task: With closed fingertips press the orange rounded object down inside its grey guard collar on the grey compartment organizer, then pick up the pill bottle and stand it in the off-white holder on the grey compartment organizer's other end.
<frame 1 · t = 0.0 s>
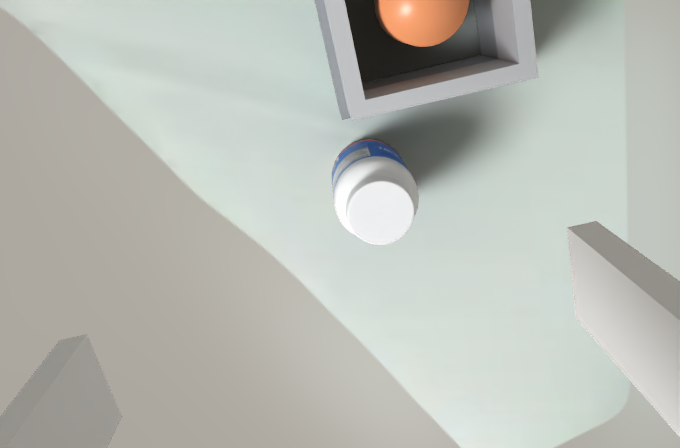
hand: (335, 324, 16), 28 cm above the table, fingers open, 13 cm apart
orange rounded object: (419, 1, 35), point 5 cm above the table, slide at 0.0 cm
pill bottle: (367, 172, 43), on the table
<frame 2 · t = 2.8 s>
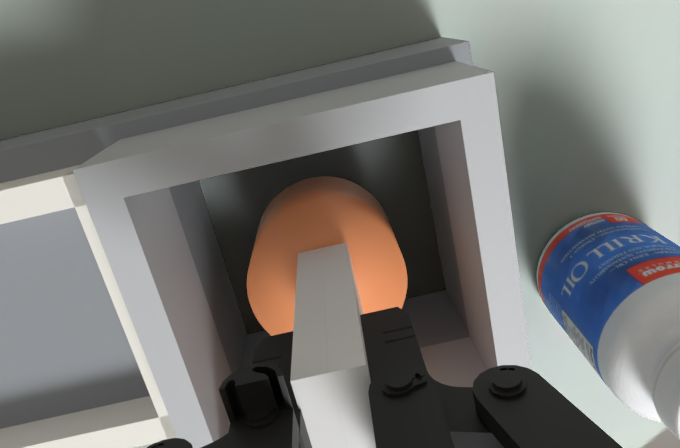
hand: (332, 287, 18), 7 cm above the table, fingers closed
grey compartment organizer: (206, 244, 24), on the table
orange rounded object: (325, 261, 20), point 5 cm above the table, slide at 0.6 cm, touching gripper
pill bottle: (590, 265, 26), on the table
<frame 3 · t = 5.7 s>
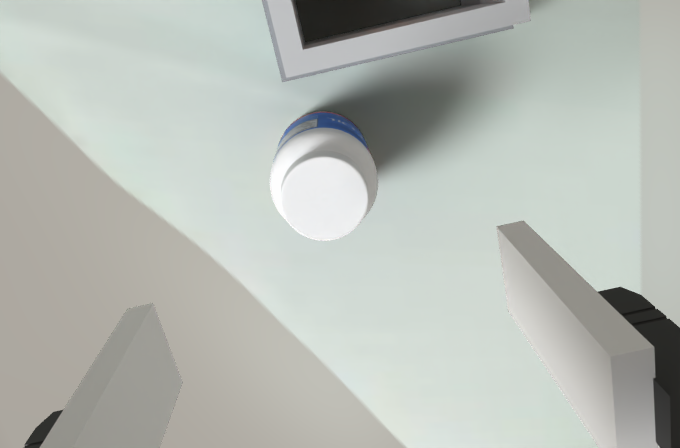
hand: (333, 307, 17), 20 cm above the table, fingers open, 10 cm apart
pill bottle: (322, 153, 35), on the table
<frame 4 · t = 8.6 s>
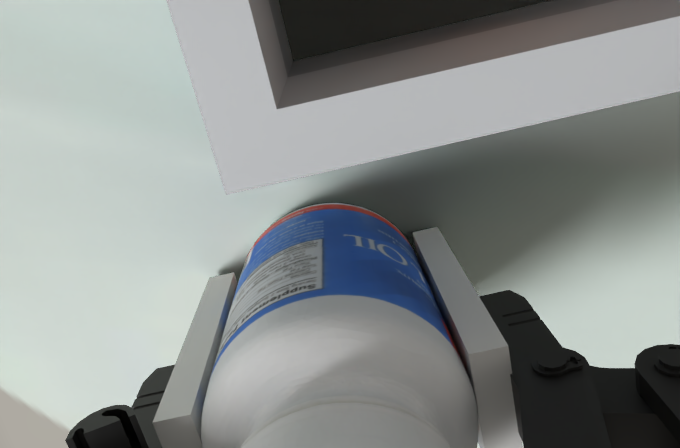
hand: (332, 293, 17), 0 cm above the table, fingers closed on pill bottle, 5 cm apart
pill bottle: (330, 278, 18), on the table, touching gripper
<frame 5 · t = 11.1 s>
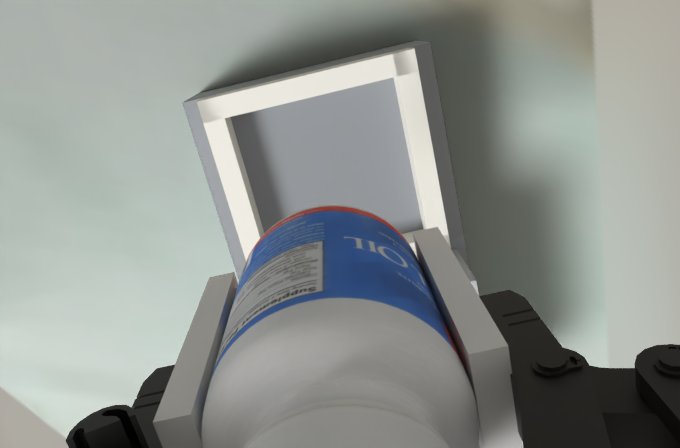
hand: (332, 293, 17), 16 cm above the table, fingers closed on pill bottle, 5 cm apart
grey compartment organizer: (352, 252, 35), on the table
pill bottle: (331, 279, 18), point 16 cm above the table, touching gripper
when the fingers open (6 cm above the table, at t = 13.6 s): pill bottle drops 1 cm, resting on grey compartment organizer.
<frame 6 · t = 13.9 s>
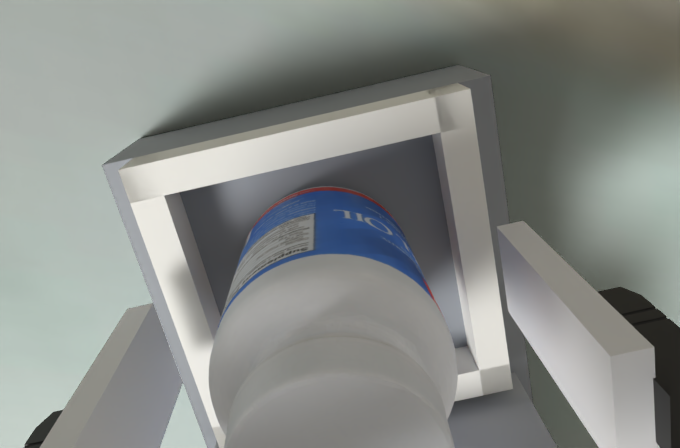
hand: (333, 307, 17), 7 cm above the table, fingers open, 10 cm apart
grey compartment organizer: (359, 355, 25), on the table
pill bottle: (325, 258, 19), point 4 cm above the table, touching grey compartment organizer
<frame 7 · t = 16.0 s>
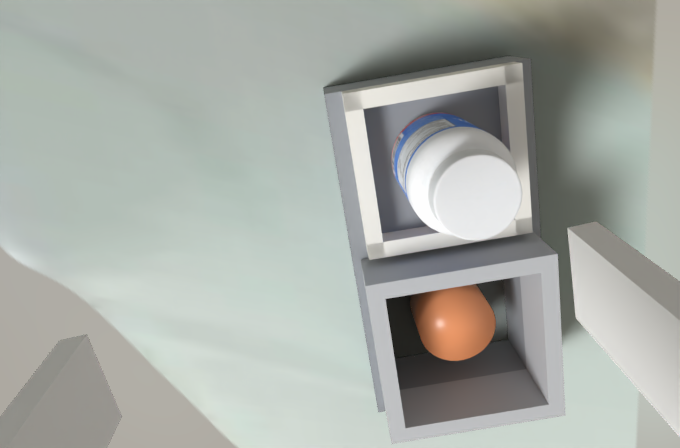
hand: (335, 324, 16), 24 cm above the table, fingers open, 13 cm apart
grey compartment organizer: (434, 231, 41), on the table
orange rounded object: (451, 313, 40), point 3 cm above the table, slide at 2.3 cm
pill bottle: (433, 154, 35), point 4 cm above the table, touching grey compartment organizer
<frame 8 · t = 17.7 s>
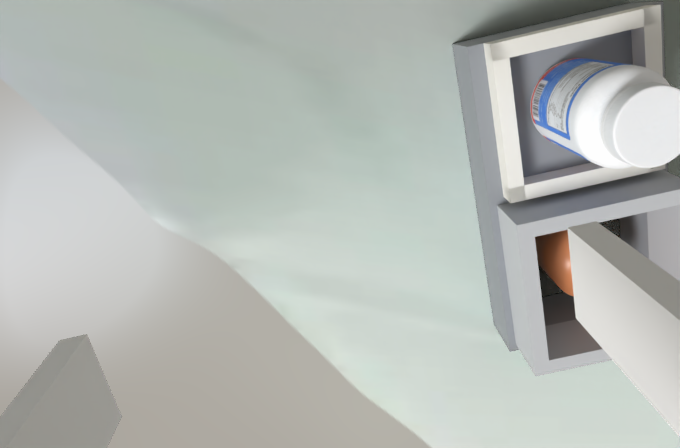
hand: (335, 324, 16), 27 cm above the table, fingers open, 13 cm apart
grey compartment organizer: (555, 178, 43), on the table
orange rounded object: (577, 254, 42), point 3 cm above the table, slide at 2.3 cm
pill bottle: (568, 100, 37), point 4 cm above the table, touching grey compartment organizer
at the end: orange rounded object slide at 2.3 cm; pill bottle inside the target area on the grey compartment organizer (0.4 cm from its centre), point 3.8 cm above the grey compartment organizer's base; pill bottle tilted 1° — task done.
